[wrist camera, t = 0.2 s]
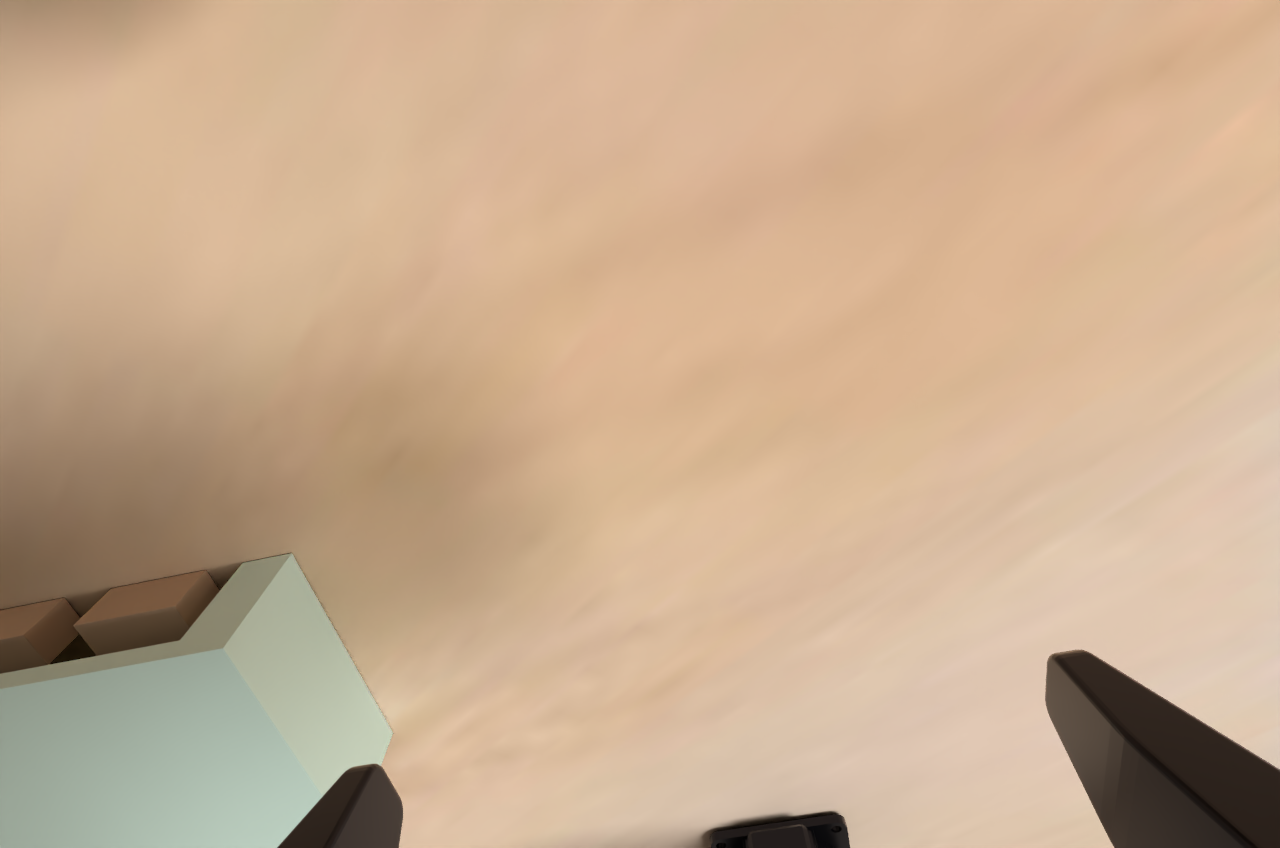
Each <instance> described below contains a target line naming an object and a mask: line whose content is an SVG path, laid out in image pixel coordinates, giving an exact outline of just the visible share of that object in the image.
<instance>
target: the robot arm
mask: <svg viewBox="0 0 1280 848" xmlns="http://www.w3.org/2000/svg"><path fill="white" fill-rule="evenodd" d="M1045 701H1046V706H1047V710H1048V713H1049V716H1050V718H1051V720H1052V723H1053V725H1054V727H1055V729H1056V731H1057V733H1058V735H1059V737H1060V739H1061V741H1062V743H1063V745H1064V747H1065V749H1066V751H1067V753H1068V755H1069V757H1070V760H1071V762H1072V764H1073V766H1074V768H1075V770H1076V772H1077V774H1078V776H1079V778H1080V780H1081V782H1082V784H1083V786H1084V788H1085V790H1086V792H1087V794H1088V796H1089V799H1090V801H1091V803H1092V805H1093V807H1094V809H1095V811H1096V813H1097V815H1098V817H1099V819H1100V821H1101V823H1102V825H1103V827H1104V829H1105V831H1106V833H1107V835H1108V837H1109V839H1110V841H1111V842H1112V844H1113V846H1114V848H1280V769H1278V768H1276V767H1275V766H1273V765H1272V764H1270V763H1268V762H1267V761H1265V760H1263V759H1262V758H1260V757H1259V756H1257V755H1255V754H1254V753H1252V752H1250V751H1249V750H1247V749H1246V748H1244V747H1242V746H1241V745H1239V744H1238V743H1236V742H1234V741H1233V740H1231V739H1229V738H1228V737H1226V736H1225V735H1223V734H1221V733H1220V732H1218V731H1216V730H1215V729H1213V728H1212V727H1210V726H1208V725H1207V724H1205V723H1203V722H1202V721H1200V720H1199V719H1197V718H1195V717H1194V716H1192V715H1190V714H1189V713H1187V712H1186V711H1184V710H1182V709H1181V708H1179V707H1177V706H1176V705H1174V704H1173V703H1171V702H1169V701H1168V700H1166V699H1164V698H1163V697H1161V696H1160V695H1158V694H1156V693H1155V692H1153V691H1151V690H1150V689H1148V688H1147V687H1145V686H1143V685H1142V684H1140V683H1138V682H1137V681H1135V680H1134V679H1132V678H1130V677H1129V676H1127V675H1125V674H1124V673H1122V672H1121V671H1119V670H1117V669H1116V668H1114V667H1112V666H1111V665H1109V664H1108V663H1106V662H1104V661H1103V660H1101V659H1099V658H1098V657H1096V656H1095V655H1093V654H1091V653H1089V652H1087V651H1084V650H1073V651H1066V652H1060V653H1054V654H1052V655H1051V656H1050V657H1049V658H1048V661H1047V675H1046V693H1045ZM402 820H403V806H402V802H401V799H400V797H399V795H398V793H397V791H396V790H395V788H394V786H393V785H392V783H391V781H390V779H389V778H388V776H387V774H386V773H385V771H384V769H383V768H382V767H381V766H380V765H378V764H367V765H361V766H355V767H352V768H349V769H348V770H346V771H345V772H344V773H343V774H342V775H341V776H340V777H339V779H338V780H337V781H336V782H335V783H334V784H333V785H332V786H331V788H330V789H329V790H328V791H327V792H326V793H325V794H324V795H323V797H322V798H321V799H320V800H319V801H318V802H317V803H316V804H315V806H314V807H313V808H312V809H311V810H310V811H309V812H308V813H307V815H306V816H305V817H304V818H303V819H302V820H301V821H300V822H299V823H298V825H297V826H296V827H295V828H294V829H293V830H292V831H291V832H290V834H289V835H288V836H287V837H286V838H285V839H284V840H283V841H282V843H281V844H280V845H279V846H278V847H277V848H399V841H400V834H401V827H402ZM710 843H711V848H850V844H849V837H848V830H847V826H846V822H845V819H844V817H843V816H841V815H827V816H820V817H813V818H806V819H800V820H793V821H786V822H779V823H772V824H765V825H758V826H751V827H745V828H738V829H731V830H724V831H718V832H714V833H713V834H712V835H711V836H710Z"/></svg>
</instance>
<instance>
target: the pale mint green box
mask: <svg viewBox="0 0 1280 848" xmlns="http://www.w3.org/2000/svg"><path fill="white" fill-rule="evenodd" d="M79 634H80V635H81V636H82V638H83V639H84V640H85V642H86V643H87V644H88V645H89V647H90V648H91V649H92V650H93V652H94V653H95V654H96V655H97V656H93V657H88V658H83V659H77V660H72V661H66V662H61V663H56V664H50V663H51V662H52V661H53V660H54V659H55V658H56V657H57V656H58V655H59V654H60V653H61V652H62V651H63V650H64V649H65V648H66V647H67V646H68V645H69V644H70V643H71V642H72V641H73V640H74V639H75V638H76V637H77V636H78V635H79ZM168 642H169V643H168ZM125 650H126V651H125ZM49 664H50V665H49ZM23 669H24V670H23ZM392 735H393V732H392V730H391V728H390V726H389V725H388V723H387V721H386V719H385V718H384V716H383V714H382V712H381V710H380V709H379V707H378V705H377V703H376V702H375V700H374V698H373V696H372V695H371V693H370V691H369V689H368V687H367V686H366V684H365V682H364V680H363V679H362V677H361V675H360V673H359V671H358V670H357V668H356V666H355V664H354V663H353V661H352V659H351V657H350V655H349V654H348V652H347V650H346V648H345V647H344V645H343V643H342V641H341V640H340V638H339V636H338V634H337V632H336V631H335V629H334V627H333V625H332V624H331V622H330V620H329V618H328V616H327V615H326V613H325V611H324V609H323V608H322V606H321V604H320V602H319V600H318V599H317V597H316V595H315V593H314V592H313V590H312V588H311V586H310V585H309V583H308V581H307V579H306V577H305V576H304V574H303V572H302V570H301V569H300V567H299V565H298V563H297V561H296V560H295V558H294V556H293V554H292V553H290V554H285V555H280V556H275V557H270V558H265V559H260V560H254V561H249V562H244V563H242V564H241V565H240V567H239V568H238V569H237V570H236V572H235V573H234V574H233V575H232V577H231V578H230V579H229V580H228V582H227V583H226V584H225V585H224V586H223V588H222V589H221V590H220V591H219V589H218V588H217V586H216V584H215V583H214V581H213V580H212V578H211V577H210V575H209V573H208V572H207V570H203V571H198V572H193V573H188V574H183V575H178V576H173V577H168V578H163V579H158V580H152V581H147V582H142V583H137V584H132V585H127V586H122V587H117V588H112V589H110V590H109V591H108V592H107V593H106V594H105V595H104V596H103V597H102V598H101V599H100V600H99V601H98V602H97V603H96V604H95V605H94V606H93V607H92V608H91V609H90V610H89V611H88V612H87V613H85V614H84V615H83V616H82V617H81V618H80V617H79V616H78V615H77V613H76V612H75V611H74V609H73V608H72V607H71V606H70V604H69V603H68V602H67V600H66V599H65V598H61V599H55V600H50V601H45V602H40V603H35V604H30V605H25V606H20V607H15V608H10V609H4V610H0V848H277V847H278V846H279V845H280V844H281V843H282V841H283V840H284V839H285V838H286V837H287V836H288V835H289V834H290V832H291V831H292V830H293V829H294V828H295V827H296V826H297V825H298V823H299V822H300V821H301V820H302V819H303V818H304V817H305V816H306V815H307V813H308V812H309V811H310V810H311V809H312V808H313V807H314V806H315V804H316V803H317V802H318V801H319V800H320V799H321V798H322V797H323V795H324V794H325V793H326V792H327V791H328V790H329V789H330V788H331V786H332V785H333V784H334V783H335V782H336V781H337V780H338V779H339V777H340V776H341V775H342V774H343V773H344V772H345V771H346V770H348V769H349V768H352V767H355V766H361V765H367V764H378V765H380V766H381V764H382V762H383V759H384V756H385V753H386V751H387V748H388V745H389V743H390V740H391V737H392Z"/></svg>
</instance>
